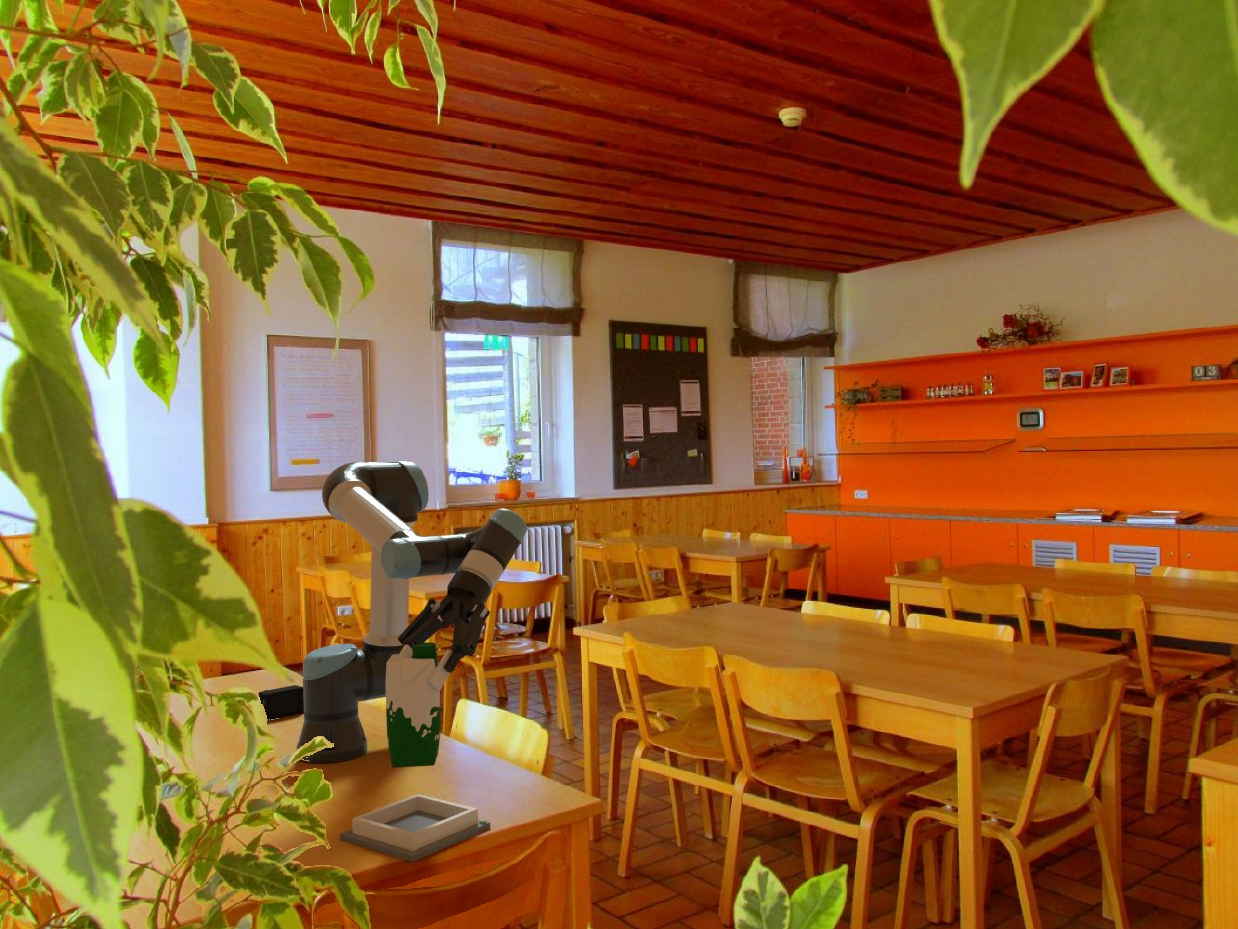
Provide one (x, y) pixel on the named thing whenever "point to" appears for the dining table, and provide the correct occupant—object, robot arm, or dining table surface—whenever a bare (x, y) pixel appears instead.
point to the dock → (415, 827)
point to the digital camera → (283, 702)
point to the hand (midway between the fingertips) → (412, 683)
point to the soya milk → (413, 707)
